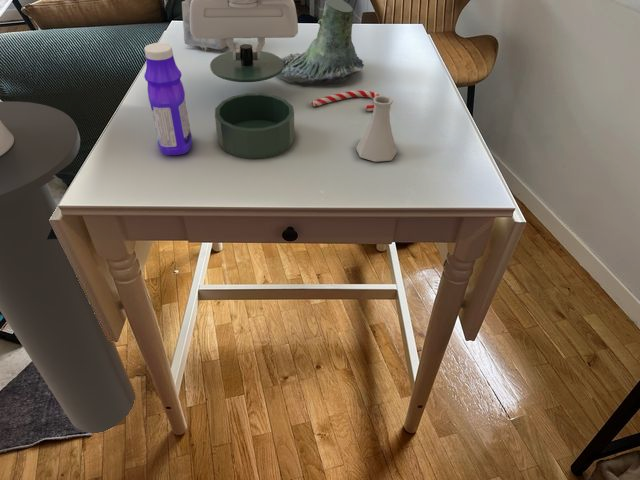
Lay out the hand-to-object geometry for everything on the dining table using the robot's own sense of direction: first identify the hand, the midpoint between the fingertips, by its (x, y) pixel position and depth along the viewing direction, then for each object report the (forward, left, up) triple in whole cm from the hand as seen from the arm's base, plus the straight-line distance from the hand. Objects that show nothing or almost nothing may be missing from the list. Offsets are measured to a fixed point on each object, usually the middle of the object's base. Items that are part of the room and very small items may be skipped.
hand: (247, 59), depth 96 cm
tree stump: (+16, +11, -8) cm, 21 cm away
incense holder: (-9, +27, -8) cm, 29 cm away
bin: (+1, -18, -7) cm, 19 cm away
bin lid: (0, 0, -2) cm, 2 cm away
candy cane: (+20, -6, -8) cm, 22 cm away
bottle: (-13, -20, -8) cm, 25 cm away
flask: (+22, -24, -8) cm, 33 cm away
